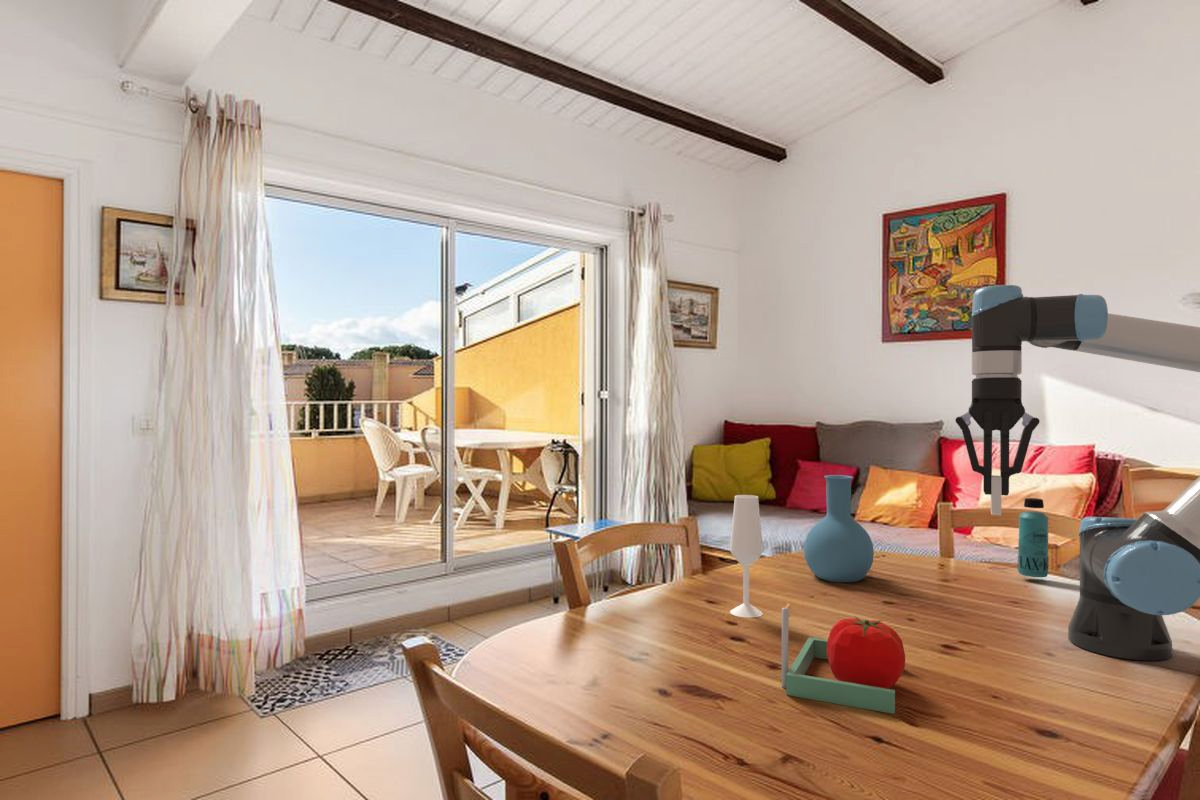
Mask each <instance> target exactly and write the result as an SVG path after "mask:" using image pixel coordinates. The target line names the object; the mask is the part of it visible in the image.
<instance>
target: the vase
mask: <svg viewBox="0 0 1200 800" xmlns="http://www.w3.org/2000/svg"><path fill="white" fill-rule="evenodd" d="M824 479H825V480H826V482H825V483H826V484H825V487H826V489H825V491H826V495H825V496H826V498H825V499H826V515H825V516H824V517H823V518H822V519H821V520H819V521H817V523H815V524H814V525H813V526H812V527H811V529H810V530H809V532H808V533H807V535H806V538H805V541H804V543H803V544H804V545H803V554H804V560H805V562H806V565H807V566H808V568H809V570H810V571H811V573H813V574H814V575H815V576H816V577H817V578H818V579H821V580H824V581H827V582H833V583H841V584H842V583H844V584H845V583H846V584H847V583H849V584H850V583H856V582H859V581H861V580H862V579H863V578H865V577H867V574H868V573H869V572H870V569H871V568H872V565H873V562H874V554H875V553H874V544H873V542H872V539H871V536H870V534H869V533H868V532H867V530H866V529H865V527H863V526H862V525H861V524H860V523H858V521H856V520H855V519H854V517H852V513H851V508H852V507H851V506H852V499H851V498H852V480H853V479H854V476H850V475H845V474H844V475H843V474H842V475H841V474H839V475H838V474H837V475H836V474H831V475H830V474H829V475H828V474H827V475H824Z"/></svg>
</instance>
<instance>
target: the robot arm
mask: <svg viewBox="0 0 1200 800" xmlns="http://www.w3.org/2000/svg"><path fill="white" fill-rule="evenodd" d="M971 309H972V310H971V374H972V375H973V376H975V378H973V379H972V380H971V404H970V406H969V407H968V411H967V412H965V413H964V414H962V415H960V416H957V417H956V418H955V423H956V424H957V425H958V428H960V430H961V432H962V435H963V436H962V437H963V439H964V443H965V444H964V445H965V447H966V451H967V454H968V458H969V461H970V462H969V463H970V466H971V470H972V471H973V472H974V473H977V474H978V473H979V474H981V475H982V476H983V478H982V479H983V480H982V481H983V482H982V483H983V485H982V486H983V490H982V491H983V493H984V495H988V496H990V514H991V515H992V516H1002V496H1009V493H1010V477H1011V476H1013V475H1018V474H1020V473H1021V472H1022V470H1023V466H1024V463H1025V459H1026V455H1027V451H1028V450H1029V449H1028V448H1029V445H1030V441H1031V438H1032V434H1033V432H1034V430H1035V429H1036V428H1037V427H1038V425H1039V424H1040V422H1041V421H1040V418H1038V417H1034V416H1033V415H1031V414H1029V413H1027V412H1026V409H1025V407H1024V405H1023V403H1022V387H1023V386H1022V379H1021V378H1020V377H1019V376H1020V375H1021V374H1022V373H1023V372H1022V371H1023V370H1022V368H1023V367H1022V366H1023V365H1022V362H1023V360H1022V357H1023V355H1022V353H1023V351H1022V349H1023V348H1022V345H1023V342H1027V343H1028V344H1030V345H1032V346H1034V347H1037V348H1042V349H1043V348H1045V349H1047V348H1054V349H1059V350H1060V349H1061V350H1068V351H1073V352H1075V351H1076V352H1080V353H1087V354H1091V355H1097V356H1104V357H1110V358H1116V359H1121V360H1127V361H1133V362H1139V363H1142V364H1143V363H1144V364H1150V365H1155V366H1160V367H1162V366H1163V367H1167V368H1173V369H1178V370H1185V371H1189V372H1197V373H1200V327H1199V326H1193V325H1186V324H1182V323H1173V322H1168V321H1162V320H1161V321H1160V320H1154V319H1146V318H1142V317H1141V318H1140V317H1136V316H1135V317H1133V316H1127V315H1121V314H1114V313H1109V311H1108V304H1107V301H1106V299H1105V298H1104V297H1103V295H1099V294H1083V293H1078V294H1075V295H1074V294H1071V295H1070V294H1069V295H1054V296H1053V295H1052V296H1051V295H1050V296H1034V297H1033V296H1030V297H1029V296H1024V293H1023V291H1022V287H1020V286H1019V285H1016V284H1015V285H1013V284H1008V285H1007V284H999V285H988V286H983V287H980V288H978V289H977V290H975V292H973V295H972V307H971ZM1018 375H1019V376H1018ZM971 418H972V419H973V420H974V421H975V423H977V425H978V426H979V427H980V429H982V430H983V431H982V432H983V455H982V456H983V457H982V458H983V459H982V461H983V463H982V464H983V465H980V464H979V459H978V455H977V451H976V448H975V444H974V441H973V437H972V433H971V430H970V427H969V426H971V424H972V421H971ZM1021 419H1022V422H1021V425H1022V426H1023V429H1022V432H1021V436H1020V439H1019V443H1018V446H1017V450H1016V453H1015V457H1014V460H1013V464H1012V466H1010V430H1012V429H1013V428H1014V427H1015V426H1016V424H1017V423H1019V421H1020V420H1021ZM993 431H999V437H1000V438H999V445H1000V446H999V448H1000V450H999V451H1000V453H999V454H1000V455H999V456H1000V459H999V461H1000V463H999V465H1000V467H999V468H1000V469H999V470H1000V475H993V474H992V473H993ZM1079 525H1080V527H1079V530H1078V536H1079V598H1078V601H1077V604H1076V606H1075V609H1074V611H1073V614H1072V617H1071V619H1070V620H1069V624H1068V630H1067V631H1068V632H1067V633H1068V634H1067V635H1068V636H1067V637H1068V638H1067V639H1068V640H1069V641H1070V643H1072V644H1074V645H1075V646H1077V647H1079V648H1082V649H1084V650H1087V651H1090V652H1093V653H1096V654H1099V655H1104V656H1109V657H1113V658H1118V659H1119V658H1120V659H1125V660H1133V661H1134V660H1135V661H1148V662H1149V661H1150V662H1151V661H1154V662H1155V661H1164V660H1167V659H1170V658H1172V656H1173V642H1172V641H1173V640H1172V638H1171V636H1170V633H1169V630H1168V627H1167V625H1166V622H1165V620H1164V616H1169V615H1176V614H1179V613H1181V612H1185V611H1187V610H1188V609H1190V608H1191V607H1193V606H1194V605H1195V604H1196V603H1198V601H1199V599H1200V475H1199V476H1198V477H1197V478H1196V479H1195V480H1194V481H1193V482H1192V483H1190V485H1189V486H1187V487H1186V488H1185V489H1184V490H1183V491H1182V492H1181V493H1180V494H1179V495H1178V496H1176V498H1175V499H1174V500H1173V501H1171V503H1170V504H1168V506H1166V507H1165V508H1164V509H1163V510H1159V511H1145V512H1144V513H1143V514H1141V516H1140V517H1138V518H1126V517H1125V518H1124V517H1106V516H1105V517H1103V516H1101V517H1100V516H1085V517H1083V518H1082V519H1081V521H1080V523H1079Z"/></svg>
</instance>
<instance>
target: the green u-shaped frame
mask: <svg viewBox="0 0 1200 800" xmlns="http://www.w3.org/2000/svg"><path fill="white" fill-rule="evenodd" d="M790 617H791V603H789V602H788V603H787V604H786V605H785V606H784V607H782V608H781V688H784V689H786V690H785V691H786V692H785V694H786V696H791V697H796V698H797V697H798V698H802V699H808V700H813V701H814V700H815V701H820V702H824V703H830V704H832V703H833V704H837V705H842V706H848V707H853V708H858V709H865V710H871V711H875V712H876V711H877V712H882V713H887V714H892V715H895V713H896V690H895V689H891V688H889V689H886V688H880V687H874V686H867V685H861V684H855V683H849V682H843V681H838V680H837V679H836V680H835V679H829V678H823V677H819V676H813V675H812V676H810V675H806V673H807V671H808V669H809V667H810V665H811V664H812V662H813V659H814V658H817V659H822V660H823V659H824V660H828V657H827V641H828V639H825V638H817V637H809V636H808V638H807V640H806V641H805V643H804V645H803V646H802V648H801V650H800V652H799V653H798V655H797V656H796V658H795V660H794V661H793V663H792V664H791V666H790V668H789V633H790V631H789V621H790V620H789V618H790Z"/></svg>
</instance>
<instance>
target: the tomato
mask: <svg viewBox="0 0 1200 800" xmlns="http://www.w3.org/2000/svg"><path fill="white" fill-rule="evenodd" d="M882 621H883V619H879V620H875V619H871V620H868V619H865V620H862V619H860V618H858V617H857V616H855V617H852V618H842V619H840V620H839V621H838V622H837V623H836V624H834V625H833V626H832V628H831V629H830V633H829V634H828V635H829V636H828V638H827V640H828V641H827V657H828V659H827V661H828V663H829V667H830V670H831V673H832V675H833V676H834V678H835V679H836V680H837V681H843V682H849V683H855V684H861V685H867V686H874V687H880V688H886V689H891V688H892V687H894V685H895V684H896V683H897V682H898V680H899V679H900V678H901V677H902V674H903V672H904V669H905V668H906V653H905V647H904V645H903V644H904V643H903V640H902V638H901V637H900V636H899V634H898V633H897V631H896V630H895V629H893V628H892V627H890V626H889V625H887V624H885V623H884V622H882Z"/></svg>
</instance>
